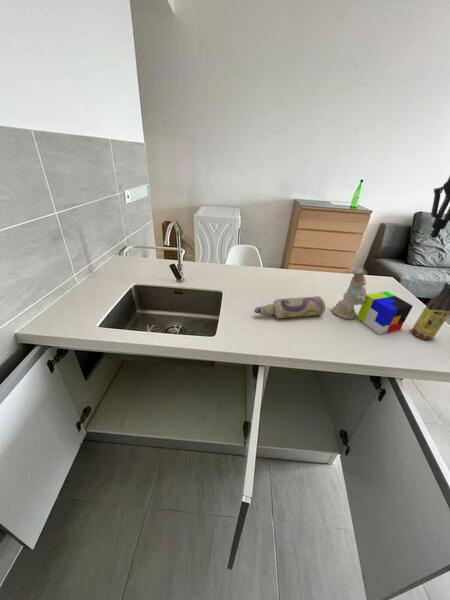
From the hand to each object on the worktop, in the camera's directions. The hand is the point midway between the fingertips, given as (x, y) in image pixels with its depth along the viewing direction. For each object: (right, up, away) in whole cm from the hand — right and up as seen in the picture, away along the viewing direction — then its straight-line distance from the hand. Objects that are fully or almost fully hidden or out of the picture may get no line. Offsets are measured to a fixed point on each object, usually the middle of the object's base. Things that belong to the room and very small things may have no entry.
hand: (433, 236), depth 94 cm
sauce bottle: (-13, -37, -10) cm, 40 cm away
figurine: (-35, -30, -1) cm, 46 cm away
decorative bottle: (-57, -30, -3) cm, 64 cm away
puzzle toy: (-25, -33, -6) cm, 42 cm away
